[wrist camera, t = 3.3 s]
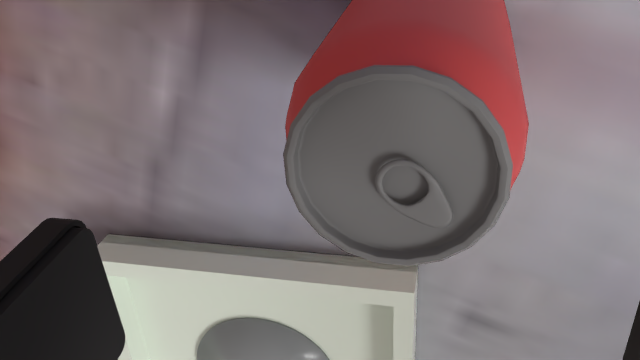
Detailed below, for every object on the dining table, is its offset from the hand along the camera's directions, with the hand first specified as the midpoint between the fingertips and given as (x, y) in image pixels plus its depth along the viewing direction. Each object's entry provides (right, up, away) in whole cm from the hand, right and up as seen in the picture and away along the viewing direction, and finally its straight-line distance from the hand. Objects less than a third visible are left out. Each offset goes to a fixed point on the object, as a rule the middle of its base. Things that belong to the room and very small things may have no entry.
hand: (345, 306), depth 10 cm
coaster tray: (-4, -9, +27) cm, 28 cm away
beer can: (+4, +8, +14) cm, 17 cm away
